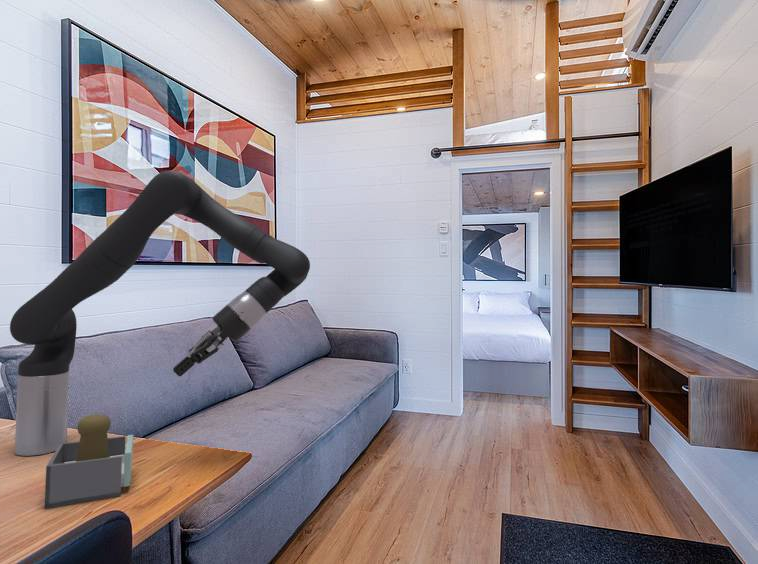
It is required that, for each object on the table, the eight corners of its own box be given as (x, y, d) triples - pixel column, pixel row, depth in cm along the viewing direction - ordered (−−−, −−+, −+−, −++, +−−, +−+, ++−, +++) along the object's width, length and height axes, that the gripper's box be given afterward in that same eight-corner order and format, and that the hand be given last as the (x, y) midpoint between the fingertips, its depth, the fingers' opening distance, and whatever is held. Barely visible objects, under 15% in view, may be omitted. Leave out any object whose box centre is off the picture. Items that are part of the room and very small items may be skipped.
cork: (96, 482, 78) (99, 421, 78) (64, 481, 78) (66, 420, 78) (118, 469, 84) (120, 412, 84) (87, 467, 84) (90, 410, 84)
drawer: (132, 464, 88) (133, 434, 88) (129, 485, 78) (131, 452, 79) (64, 473, 83) (65, 442, 83) (52, 498, 73) (54, 462, 73)
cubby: (124, 470, 88) (125, 435, 88) (120, 496, 77) (121, 456, 77) (58, 480, 83) (59, 443, 83) (44, 509, 72) (46, 466, 72)
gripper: (224, 302, 101) (162, 355, 95) (233, 305, 89) (163, 366, 84) (245, 325, 104) (186, 378, 98) (257, 331, 92) (191, 392, 86)
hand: (176, 373), depth 91 cm, fingers closed
